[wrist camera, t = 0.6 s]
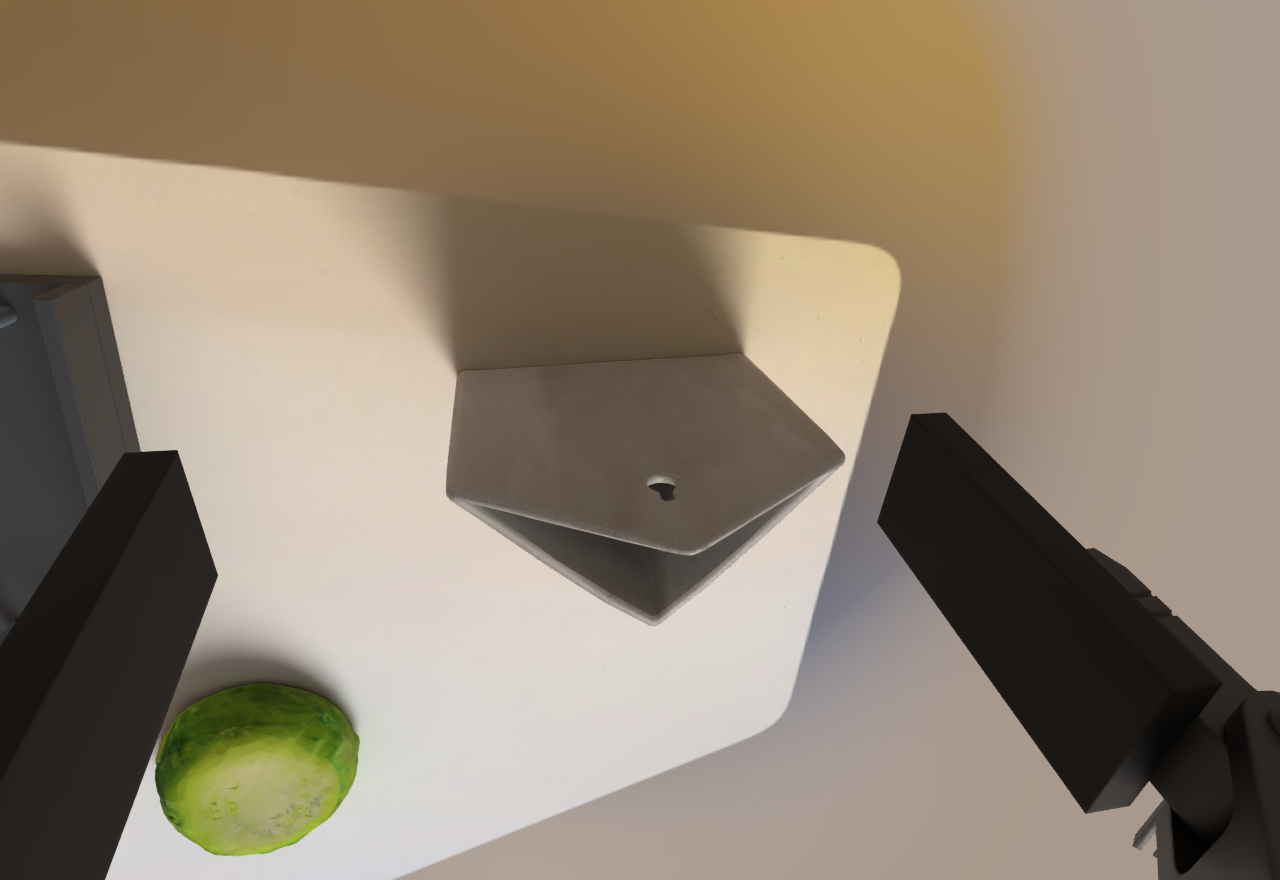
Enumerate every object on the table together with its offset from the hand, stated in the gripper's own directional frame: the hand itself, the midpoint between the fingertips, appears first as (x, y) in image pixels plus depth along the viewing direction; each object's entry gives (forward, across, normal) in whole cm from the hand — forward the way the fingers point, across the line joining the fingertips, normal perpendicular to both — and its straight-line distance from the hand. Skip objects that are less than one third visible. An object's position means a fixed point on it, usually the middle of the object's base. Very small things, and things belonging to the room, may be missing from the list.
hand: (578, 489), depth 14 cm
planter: (+25, +5, -15) cm, 30 cm away
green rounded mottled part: (+22, -16, -36) cm, 45 cm away
